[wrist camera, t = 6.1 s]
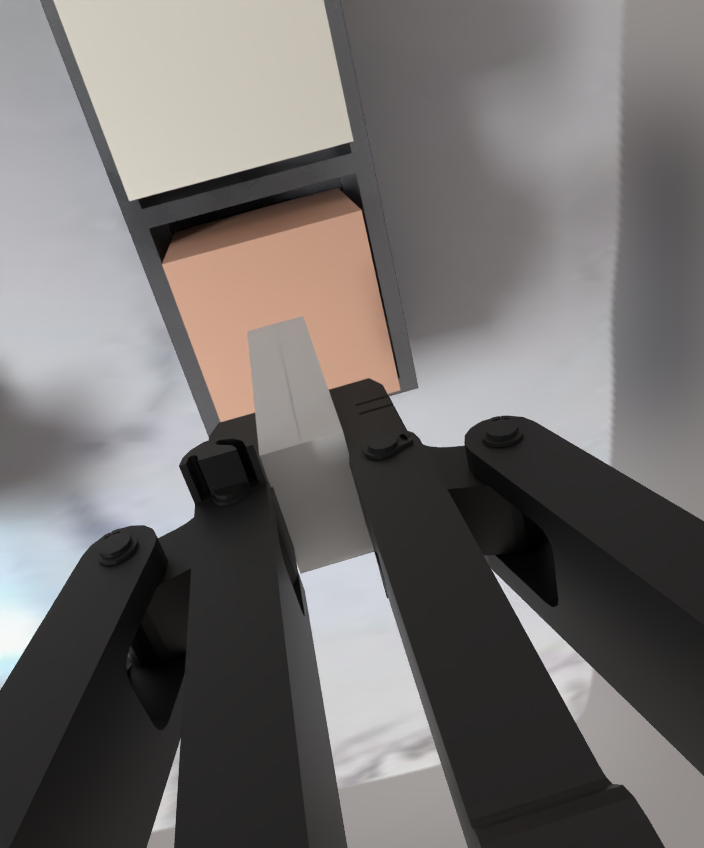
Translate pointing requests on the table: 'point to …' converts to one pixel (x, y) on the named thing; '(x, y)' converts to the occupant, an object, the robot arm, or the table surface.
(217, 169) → the ivory key
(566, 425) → the table surface
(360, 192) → the grey compartment tray
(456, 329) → the table surface
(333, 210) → the terracotta key
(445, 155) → the table surface
